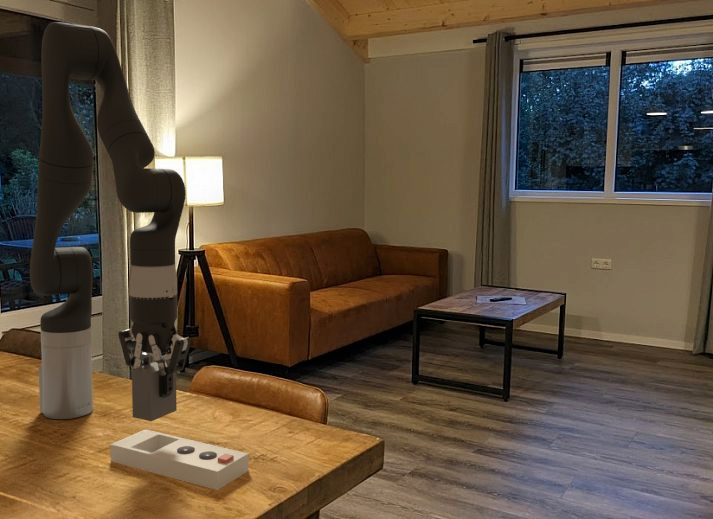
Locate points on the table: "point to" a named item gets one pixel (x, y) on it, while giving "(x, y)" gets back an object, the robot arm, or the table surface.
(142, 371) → the charcoal plug
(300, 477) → the table surface
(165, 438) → the power strip
